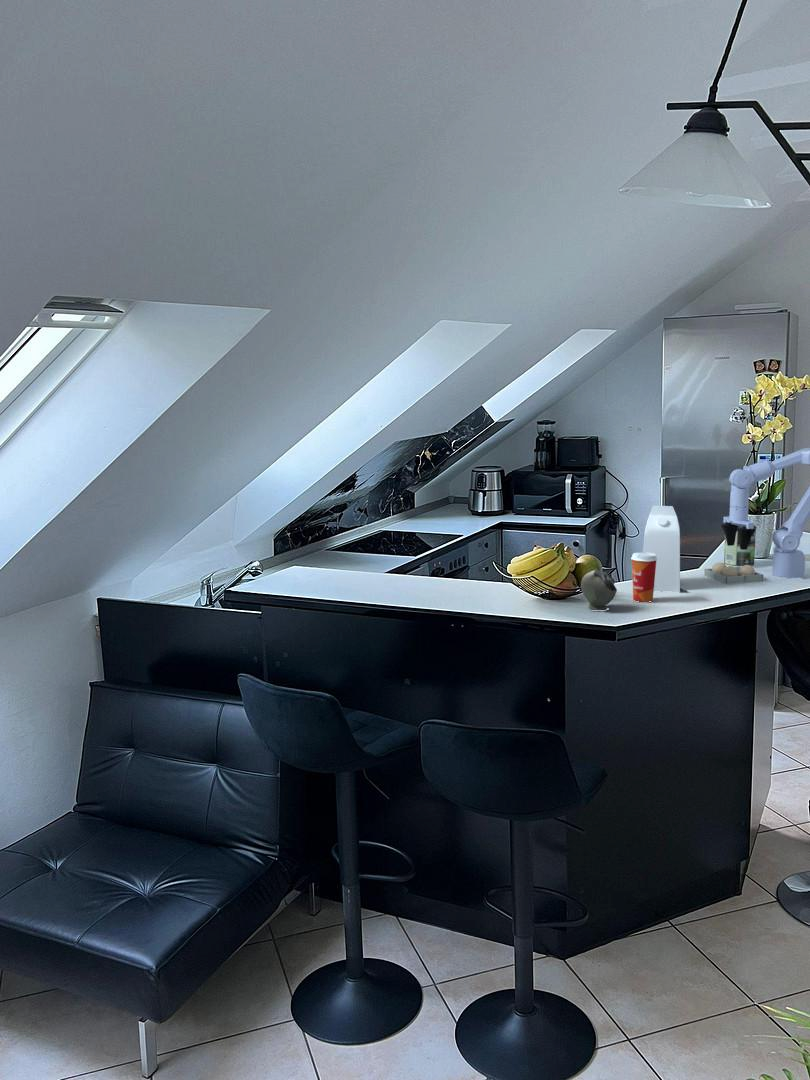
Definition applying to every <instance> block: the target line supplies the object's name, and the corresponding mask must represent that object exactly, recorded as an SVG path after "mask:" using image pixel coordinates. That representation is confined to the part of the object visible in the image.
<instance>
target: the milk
mask: <svg viewBox="0 0 810 1080" xmlns="http://www.w3.org/2000/svg"><path fill="white" fill-rule="evenodd" d="M647 517H648V518H647V522H646V525H645V529H644V534H643V535H644V536H643V547H642V548H643V549H642V553H653V554H656V557H657V559H658V560H656V571H655V582H654V591H672V592H680V593H681V529H680V522H679V519H678V515H677V513H676V511H675V509H674V506H673V505H669V506H668V505H653V506H652V507H651V510H650V513H649V515H648V516H647Z"/></svg>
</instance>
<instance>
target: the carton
mask: <svg viewBox="0 0 810 1080" xmlns="http://www.w3.org/2000/svg"><path fill="white" fill-rule="evenodd" d="M734 567H735V568H736V569H737V571H738V576H729V577H727V576H724V575H722V573H723V572H720V573H716V572H713V571H712V568H704V577H707V578H709V579H712V580H715V581H717V582H720V583H722V584H726V585H729V584H730V585H731V584H744V583H745V584H746V583H748V584H749V583H760V582H764V574H762V573H760V572H757V571H755V575H742V574H739V570H740V568H741V567H742V566H734Z"/></svg>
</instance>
